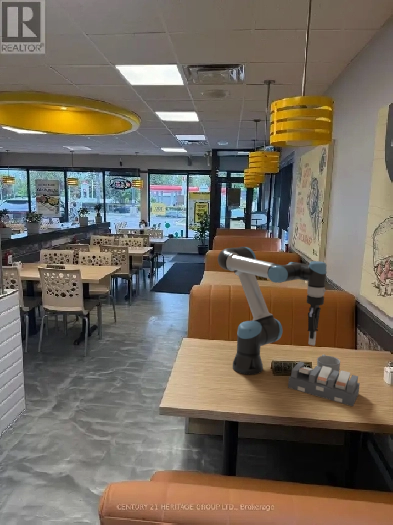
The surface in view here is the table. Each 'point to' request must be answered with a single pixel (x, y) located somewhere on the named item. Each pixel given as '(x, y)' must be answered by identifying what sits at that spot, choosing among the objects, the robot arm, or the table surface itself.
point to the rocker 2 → (324, 375)
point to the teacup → (329, 362)
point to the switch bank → (327, 391)
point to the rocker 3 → (342, 380)
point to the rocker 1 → (305, 370)
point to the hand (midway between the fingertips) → (311, 344)
